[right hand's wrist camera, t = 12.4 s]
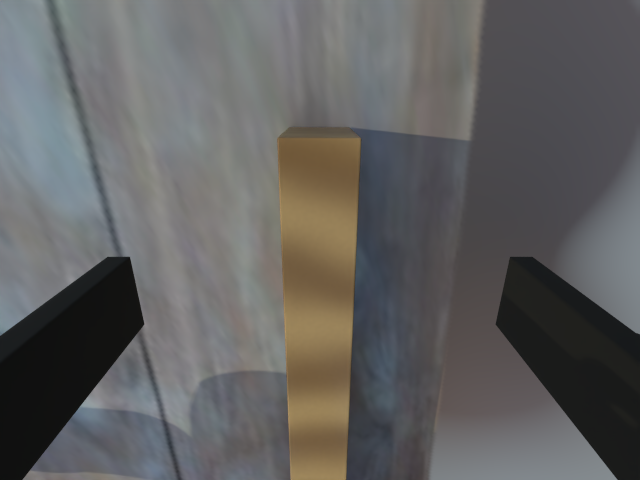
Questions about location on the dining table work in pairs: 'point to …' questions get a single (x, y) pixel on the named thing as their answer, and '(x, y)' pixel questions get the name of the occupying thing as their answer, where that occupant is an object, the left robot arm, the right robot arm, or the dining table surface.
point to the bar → (318, 292)
